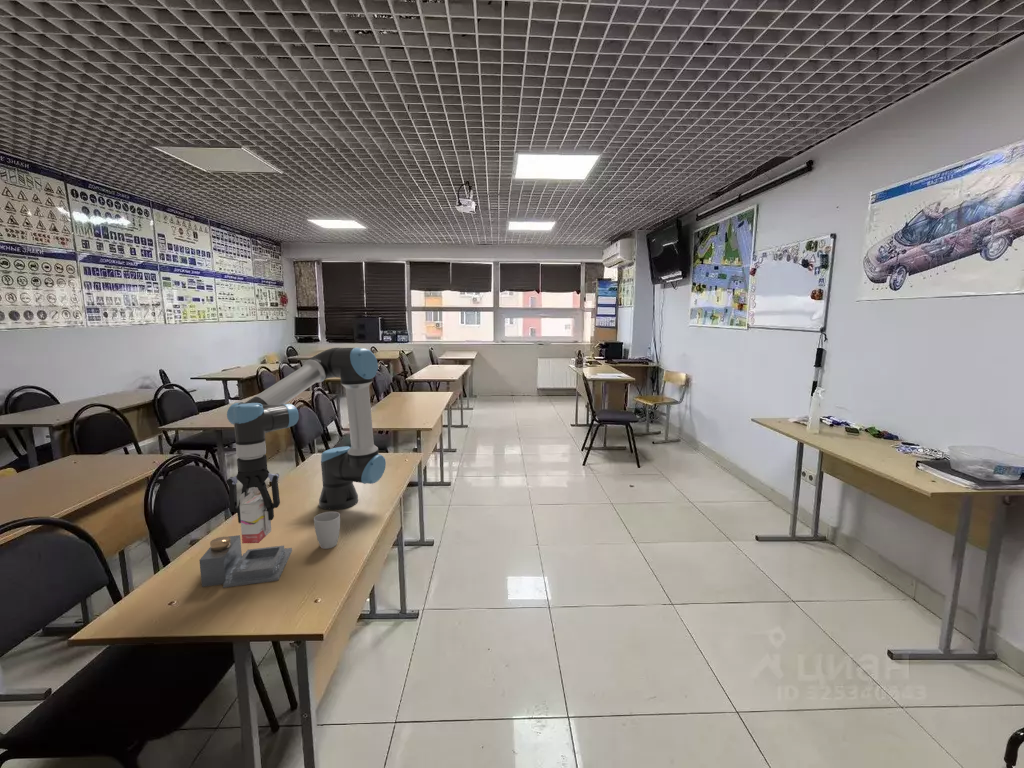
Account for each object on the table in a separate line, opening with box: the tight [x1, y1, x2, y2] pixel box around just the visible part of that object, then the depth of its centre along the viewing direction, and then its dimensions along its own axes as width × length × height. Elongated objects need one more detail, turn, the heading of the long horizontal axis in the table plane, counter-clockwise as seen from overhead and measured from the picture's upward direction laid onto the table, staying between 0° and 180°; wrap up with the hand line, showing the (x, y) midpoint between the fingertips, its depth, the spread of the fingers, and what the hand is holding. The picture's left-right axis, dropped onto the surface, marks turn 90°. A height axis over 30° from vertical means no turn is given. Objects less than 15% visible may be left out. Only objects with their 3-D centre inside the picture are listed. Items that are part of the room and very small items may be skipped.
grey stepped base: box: [199, 534, 293, 589], centre depth 134 cm, size 20×18×10 cm
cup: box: [313, 511, 341, 550], centre depth 149 cm, size 8×8×10 cm
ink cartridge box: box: [239, 487, 272, 544], centre depth 133 cm, size 9×5×15 cm, turn 5°
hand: (257, 531), depth 134 cm, fingers closed on ink cartridge box, 5 cm apart
